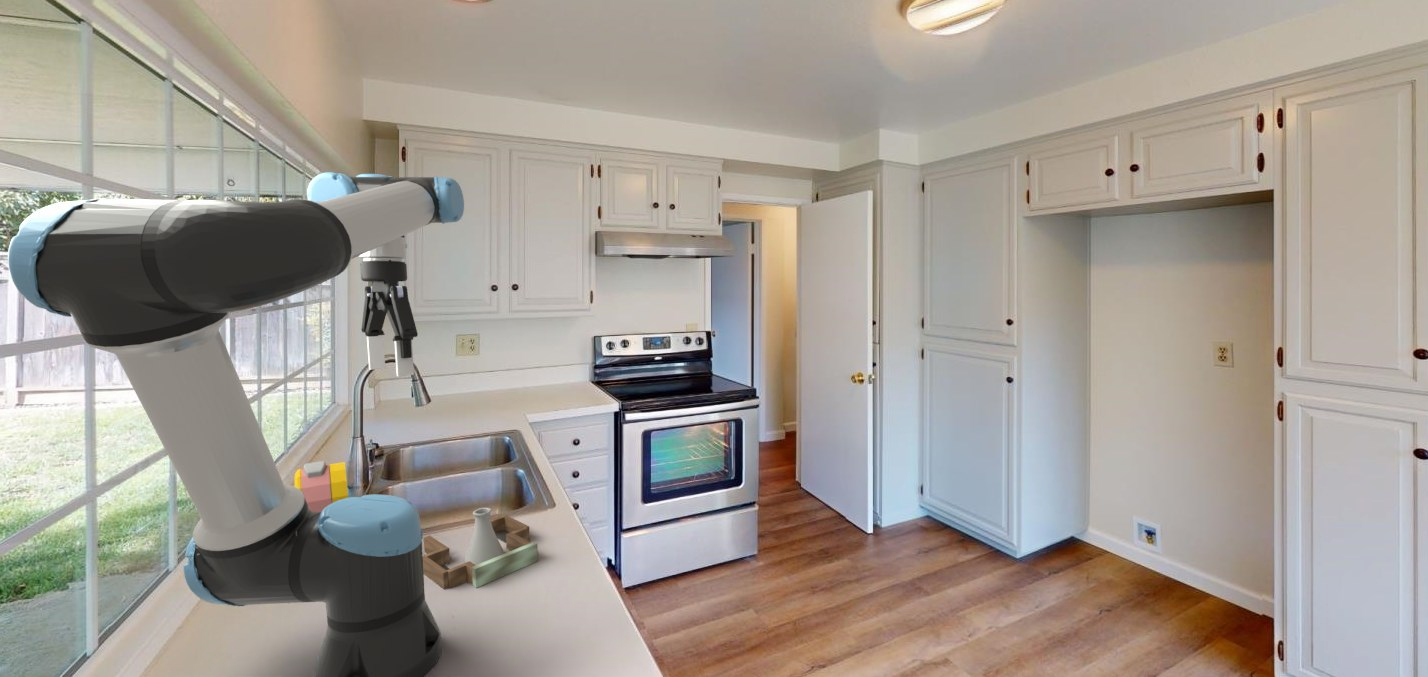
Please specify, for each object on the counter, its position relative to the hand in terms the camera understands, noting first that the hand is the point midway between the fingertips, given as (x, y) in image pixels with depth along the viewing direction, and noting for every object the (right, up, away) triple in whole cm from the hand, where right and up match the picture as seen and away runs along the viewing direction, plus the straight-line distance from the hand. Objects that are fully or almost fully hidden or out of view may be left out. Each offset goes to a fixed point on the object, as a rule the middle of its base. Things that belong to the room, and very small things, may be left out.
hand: (390, 372), depth 106 cm
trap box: (+16, -37, +3) cm, 40 cm away
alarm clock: (-16, -37, +6) cm, 40 cm away
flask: (+17, -37, +1) cm, 41 cm away
